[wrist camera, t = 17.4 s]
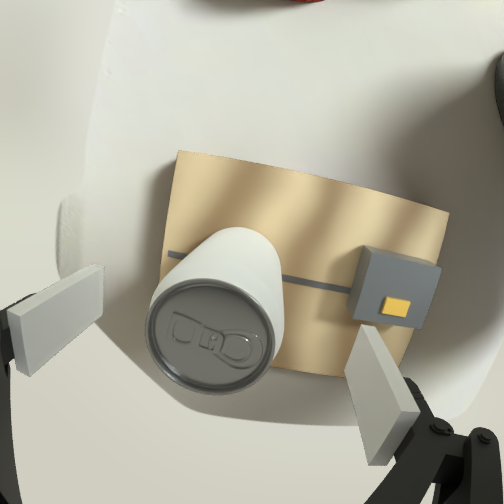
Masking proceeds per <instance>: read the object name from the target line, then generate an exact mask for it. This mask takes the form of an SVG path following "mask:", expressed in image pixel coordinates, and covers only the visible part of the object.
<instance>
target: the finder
mask: <svg viewBox="0 0 504 504" xmlns="http://www.w3.org/2000/svg"><path fill="white" fill-rule="evenodd" d="M441 271H442V268H440V267H439V266H437V265H435V264H434V263H432V262H430V261H429V260H425V259H421V258H417V257H412V256H408V255H404V254H400V253H396V252H392V251H387V250H383V249H379V248H375V247H370V246H366V245H363V247H362V251H361V255H360V259H359V262H358V266H357V270H356V273H355V277H354V280H353V284H352V287H351V291H350V294H349V297H348V301H347V304H346V307H347V309H348V311H349V312H350V314H351V316H352V318H353V319H358V320H364V321H370V322H376V323H382V324H388V325H395V326H401V327H408V328H414V329H422V326H423V324H424V321H425V319H426V316H427V313H428V310H429V308H430V305H431V302H432V299H433V296H434V293H435V290H436V287H437V284H438V281H439V278H440V274H441Z"/></svg>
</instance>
